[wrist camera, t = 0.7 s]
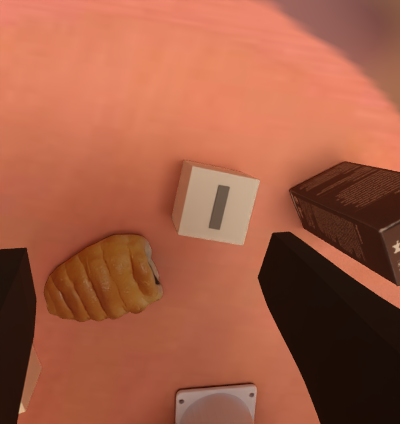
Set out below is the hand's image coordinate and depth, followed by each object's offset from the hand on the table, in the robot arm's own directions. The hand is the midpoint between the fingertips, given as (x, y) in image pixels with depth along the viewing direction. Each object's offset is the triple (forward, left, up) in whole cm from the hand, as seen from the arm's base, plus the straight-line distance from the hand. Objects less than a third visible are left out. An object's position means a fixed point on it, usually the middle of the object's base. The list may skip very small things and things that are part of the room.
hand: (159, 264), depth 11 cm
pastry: (-9, +3, -19) cm, 21 cm away
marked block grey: (-1, -5, -19) cm, 20 cm away
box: (-1, -16, -19) cm, 25 cm away
